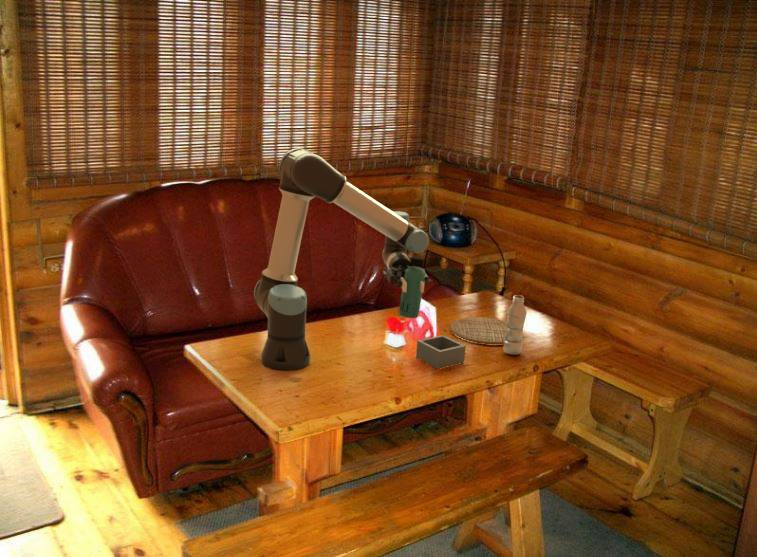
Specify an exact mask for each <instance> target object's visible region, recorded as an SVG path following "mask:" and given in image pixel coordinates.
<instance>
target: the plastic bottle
mask: <svg viewBox="0 0 757 557" xmlns="http://www.w3.org/2000/svg"><path fill="white" fill-rule="evenodd" d="M511 302H512V303H511V304H510V306H509V307H508V309H507V311H506V313H507V314H506V316H507V318H506V322H507V332H506V337H505V340H504V344H503V346H502V350H503V351H504V353H505V354H506V355H510V356H512V355H513V356H517V355H520V354H521V353H522V350H523V348H524V347H523V332H524V325H525V321H526V319H527V308H526V307H525V305H524V302H525V297H524V296H523V295H519V294H517V295H515V294H514V295H513V296H512V301H511Z"/></svg>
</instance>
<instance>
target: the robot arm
mask: <svg viewBox="0 0 757 557" xmlns="http://www.w3.org/2000/svg"><path fill="white" fill-rule="evenodd" d="M278 167H279V168H278V169H279V174H280V177H281V178H280V181H279V186H278V190H279V191H280V193H281V195H282V196H281V201H280V207H279V211H278V216H277V221H276V226H275V231H274V236H273V241H272V246H271V249H270V250H271V251H270V254H269V261H268V265H267V268H264V269H263V270H262V271H261V276H260V279H259V280H258V281H257V282H256V284H255V286H254V289H253V297H254V300H255V303H256V305H257V307H258V308H259V309H260V310H261V311H262V312H263V314H264V315H265V316H266V317H267V338H266V341H265V343H264V347H263V349H262V352H261V362H260V363H262V365H264V366H265V367H267V368H269V367H270V368H269V369H272V368H273V369H274V370H277V369H278V370H279V371H294V370H295V371H296V370H300V369H303V368H305V367H308V366H309V364H310V362H311V353H310V350H309V347H308V342H307V340H306V327H307V326H306V325H307V324H306V323H307V308H308V307H307V306H308V299H307V293H306V291H305V290H304V289H303V288H302V287H300V286H297V285H298V279H299V278H298V276H297V275H296V273H295V272H296V266H297V262H298V256H299V252H300V249H301V247H300V246H301V243H302V242H301V241H302V237H303V233H304V229H305V224H306V220H307V219H306V218H307V216H308V215H307V214H308V209H309V204H310V201H311V200H312V199H314V198H318V199H321V200H323V201H324V202H325V203H326V204H332V203H334V204H335V205H336V206H338V207H340V208H342V209H343V210H344V211H346V212H348V213H349V214H351V215H352V216H354V217H355V218H357V219H358V220H361V222H364V223H365V224H367V225H369V226H370V227H371V228H373V229H375V230H376V231H377V232H379V233H381V234H382V235H384V236H385V237H384V238H385V239H384V248H383V250H382V253H381V256H382V261H383V263H384V264H385V266H386V267H383V271H382V272H383V274H382V276H384V277H385V278H386V280H387V281H388V283H389V284H390V285H395V288H401V291H402V290H403V291H404V292H406V290H407V283H406V281H405V280H404V278H405V270H406V269H407V268H409V267H411V266H414V265H412V264H410V261H411V259H410V258H409V256H408V255H407V254H408V251H409V252H411V253H413V254H421V253H423V252H424V251H426V249H427V248H428V247H429V243H430V238H429V236H428V234H427V232H425V231H424V229H421V228H419V227H417V226H415V225H414V224H412V223H411V222H410V215H409V213H408V212H404V211H401V210H399V211H397V210H396V211H393V210H391V209H390V208H388V207H387V206H385V205H384V204H382V203H380V202H379V201H377V199H374V198H373V197H372V196H370V195H369V194H366V193H365V192H364V191H362V190H361V189H359V188H358V187H356V186H355V185H353V184H352V183H351V182H348V181H347V177H346V176H345V175H343V173H341V172H339V171H338V170H337V169H336V168H335V167H333V166H332V165H331V164H329V162H328V161H327V160H325V159H324V158H323V157H321V156H320V155H318V154H316V153H313V152H312V151H311V150H310V149H306V148H297V147H296V148H293V149H290V150H288V151H287V152H285V153H284V154H283V155H282V157H281V159H280V161H279V165H278ZM421 268H422V269H423V270H424V271H425V270H426V269H425V268H423V267H421ZM425 272H426V271H425ZM428 285H429V276H428V275H427V273H426V274H425V278H424V282H423V281H420V288H419V290H420V291H421V292H422V293H424V292H425V287H426V286H428Z"/></svg>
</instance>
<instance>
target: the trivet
mask: <svg viewBox="0 0 757 557" xmlns="http://www.w3.org/2000/svg"><path fill="white" fill-rule="evenodd" d="M451 330H452V332H453V333H454V334H456V335H457V336H459V337H461V338H463V339H466V340H469V341H473V342H477V343H485V344H504V340H505V337H506V332H507V321H505V320H501V319H497V318H491V317H483V316H482V317H481V316H479V317H478V316H473V317H471V316H470V317H469V316H468V317H462V318H459V319H457V320H454V321H453V322H452V323H451V325H450V331H451ZM452 332H451V333H452Z"/></svg>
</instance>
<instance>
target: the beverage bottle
mask: <svg viewBox="0 0 757 557" xmlns="http://www.w3.org/2000/svg"><path fill="white" fill-rule="evenodd" d="M410 264H412V265H413V266H411V267H409V268H407V269H406V270H405V278H404V280H405V281H406V283H407V290H406V292H404V291H403V290H402V289H401V295H400V300H399V303H398V305H399V306H398V310H397V311H398V314H399V316H401V317H404V318H407V319H416V318H418V317H419V315H420V310H421V303H422V299H423V298H422V297H423V296H422V294H423V292H421V291H420V290H419V288H420V281H423V282H424V278H425V274H427V273H426V271H424V270H423V269H422V268H423V266H424V264H425V259H424V258H423V257H422V256H411V259H410Z"/></svg>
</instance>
